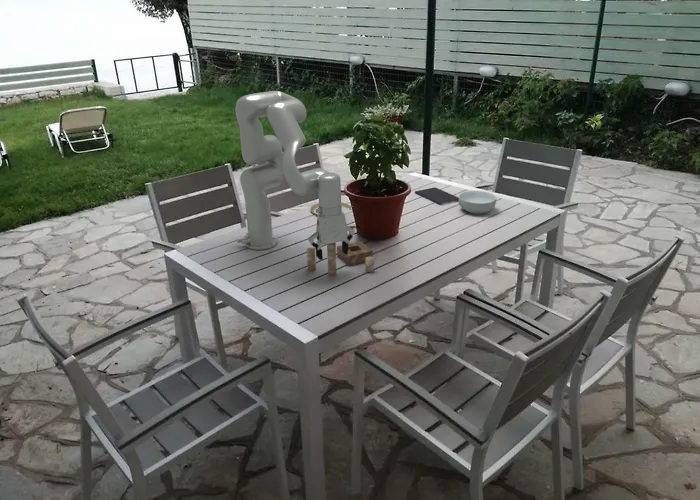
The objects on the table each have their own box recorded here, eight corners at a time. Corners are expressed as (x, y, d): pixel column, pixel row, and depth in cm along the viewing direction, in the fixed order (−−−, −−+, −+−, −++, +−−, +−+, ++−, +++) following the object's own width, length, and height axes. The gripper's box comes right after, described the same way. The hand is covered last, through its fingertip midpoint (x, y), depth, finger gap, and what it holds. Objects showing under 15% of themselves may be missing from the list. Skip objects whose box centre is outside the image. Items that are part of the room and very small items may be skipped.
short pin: (368, 273, 197) (368, 260, 195) (364, 269, 199) (364, 257, 197) (375, 271, 198) (375, 258, 196) (371, 268, 201) (371, 255, 199)
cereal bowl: (450, 208, 257) (451, 193, 254) (479, 202, 263) (480, 188, 260) (472, 220, 243) (473, 204, 240) (502, 213, 249) (504, 199, 246)
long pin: (330, 276, 195) (329, 245, 190) (326, 273, 197) (325, 242, 193) (337, 274, 196) (337, 243, 191) (334, 271, 199) (333, 240, 194)
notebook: (414, 194, 278) (440, 206, 261) (414, 191, 277) (440, 203, 260) (435, 190, 283) (461, 201, 266) (435, 187, 283) (461, 198, 266)
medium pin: (309, 271, 199) (308, 251, 195) (306, 268, 201) (305, 248, 198) (317, 270, 200) (316, 249, 197) (314, 266, 202) (313, 246, 199)
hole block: (348, 266, 202) (348, 256, 201) (337, 256, 211) (336, 246, 209) (372, 260, 206) (372, 250, 205) (360, 250, 215) (360, 241, 213)
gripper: (311, 217, 180) (314, 265, 187) (358, 208, 187) (359, 254, 194) (302, 211, 186) (305, 257, 193) (348, 202, 193) (350, 247, 200)
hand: (332, 255), depth 194 cm, fingers open, 9 cm apart
